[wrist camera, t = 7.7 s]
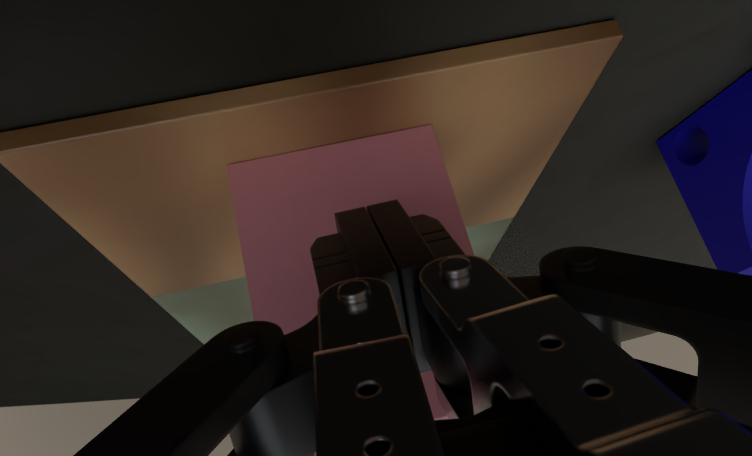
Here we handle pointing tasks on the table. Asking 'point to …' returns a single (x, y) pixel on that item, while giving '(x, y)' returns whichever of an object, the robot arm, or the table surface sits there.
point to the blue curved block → (718, 173)
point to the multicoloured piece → (298, 132)
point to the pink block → (331, 214)
